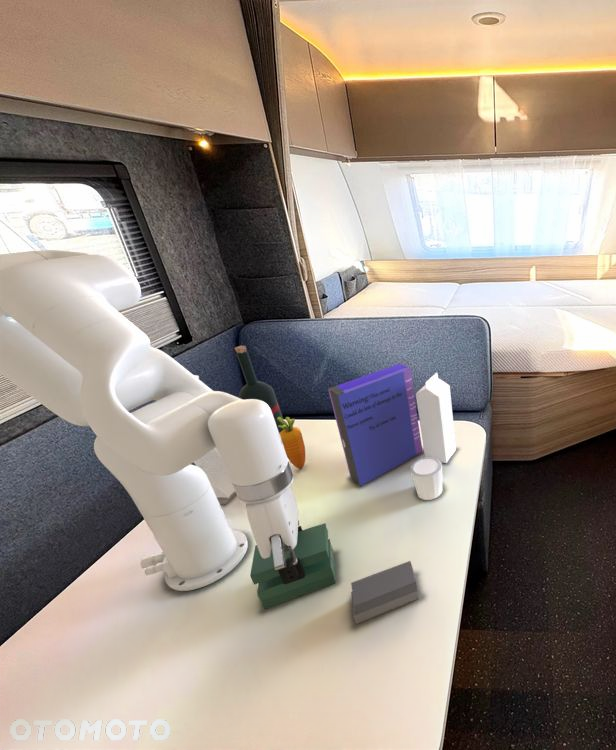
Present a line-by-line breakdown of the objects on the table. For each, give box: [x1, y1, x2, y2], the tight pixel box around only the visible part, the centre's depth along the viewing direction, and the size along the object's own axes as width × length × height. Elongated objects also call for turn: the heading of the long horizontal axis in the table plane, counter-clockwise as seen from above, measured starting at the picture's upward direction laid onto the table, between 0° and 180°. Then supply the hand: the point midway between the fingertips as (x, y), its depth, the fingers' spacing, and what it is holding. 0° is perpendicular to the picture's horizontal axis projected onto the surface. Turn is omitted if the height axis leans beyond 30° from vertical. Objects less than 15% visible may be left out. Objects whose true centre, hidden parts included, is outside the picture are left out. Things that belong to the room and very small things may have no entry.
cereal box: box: [327, 363, 424, 488], centre depth 90 cm, size 17×5×24 cm, turn 136°
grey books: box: [350, 560, 420, 625], centre depth 63 cm, size 10×4×4 cm, turn 114°
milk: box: [415, 372, 457, 464], centre depth 94 cm, size 6×6×22 cm
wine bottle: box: [234, 345, 284, 433], centre depth 96 cm, size 8×10×30 cm
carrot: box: [277, 416, 306, 470], centre depth 92 cm, size 5×5×15 cm
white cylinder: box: [409, 456, 443, 501], centre depth 85 cm, size 7×7×7 cm
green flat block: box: [249, 522, 329, 586], centre depth 64 cm, size 11×6×2 cm, turn 114°
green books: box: [256, 538, 337, 610], centre depth 66 cm, size 11×6×4 cm, turn 114°
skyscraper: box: [193, 374, 236, 506], centre depth 83 cm, size 8×8×28 cm
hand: (295, 561), depth 65 cm, fingers closed on green flat block, 6 cm apart
